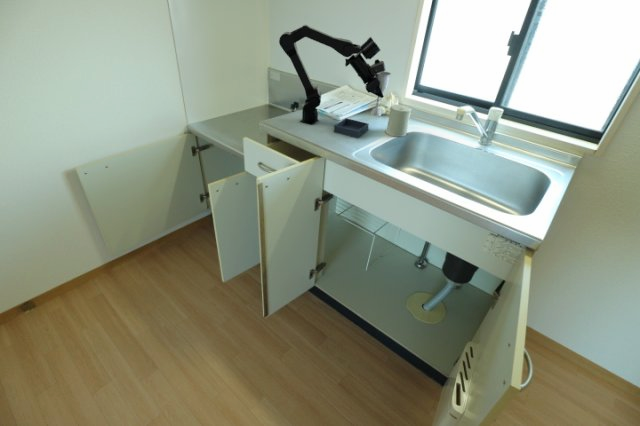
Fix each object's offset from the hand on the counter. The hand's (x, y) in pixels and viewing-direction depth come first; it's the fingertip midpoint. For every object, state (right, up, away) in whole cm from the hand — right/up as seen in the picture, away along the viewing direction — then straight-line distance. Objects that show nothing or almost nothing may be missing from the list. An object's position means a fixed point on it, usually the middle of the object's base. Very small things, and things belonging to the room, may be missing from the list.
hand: (382, 95), depth 147 cm
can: (+7, -17, +2) cm, 18 cm away
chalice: (-2, -7, +5) cm, 9 cm away
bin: (-14, -16, +1) cm, 21 cm away
